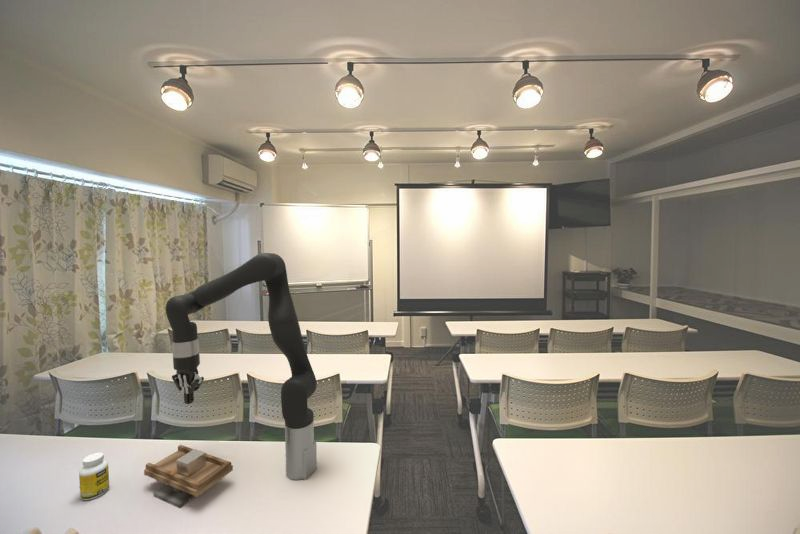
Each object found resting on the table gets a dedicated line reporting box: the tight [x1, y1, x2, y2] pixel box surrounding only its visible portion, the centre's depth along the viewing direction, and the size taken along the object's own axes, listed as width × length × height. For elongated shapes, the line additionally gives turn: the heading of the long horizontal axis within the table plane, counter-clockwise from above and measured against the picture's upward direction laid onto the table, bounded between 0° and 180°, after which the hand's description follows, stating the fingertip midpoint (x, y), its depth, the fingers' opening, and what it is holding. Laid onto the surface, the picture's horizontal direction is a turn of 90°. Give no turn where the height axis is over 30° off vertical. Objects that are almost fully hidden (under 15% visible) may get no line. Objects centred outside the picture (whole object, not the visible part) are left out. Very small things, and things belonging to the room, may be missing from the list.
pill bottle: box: [78, 452, 110, 501], centre depth 99 cm, size 6×6×12 cm
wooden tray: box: [143, 444, 234, 509], centre depth 102 cm, size 24×14×8 cm, turn 68°
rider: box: [176, 448, 207, 477], centre depth 102 cm, size 5×6×4 cm
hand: (189, 402), depth 110 cm, fingers closed
